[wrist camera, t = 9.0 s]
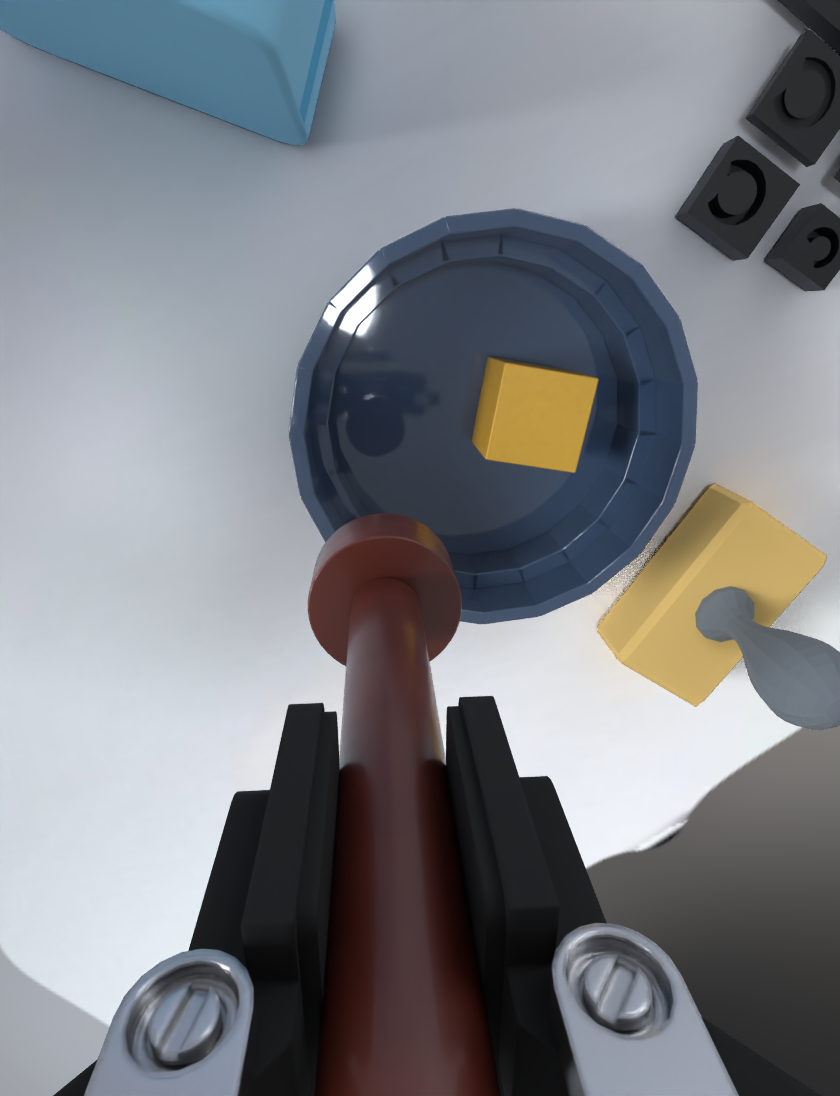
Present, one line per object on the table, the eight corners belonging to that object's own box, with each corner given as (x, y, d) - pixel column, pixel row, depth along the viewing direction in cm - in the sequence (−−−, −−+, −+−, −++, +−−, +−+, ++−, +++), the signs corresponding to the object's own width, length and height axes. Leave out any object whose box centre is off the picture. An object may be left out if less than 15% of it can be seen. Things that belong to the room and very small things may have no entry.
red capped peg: (290, 605, 18) (87, 1318, 5) (355, 487, 17) (302, 1014, 4) (410, 661, 19) (490, 1389, 6) (478, 552, 18) (748, 1154, 5)
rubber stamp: (669, 674, 37) (800, 832, 26) (592, 627, 35) (695, 774, 24) (787, 535, 34) (991, 643, 23) (710, 480, 33) (887, 565, 22)
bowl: (248, 482, 31) (222, 519, 26) (409, 153, 27) (420, 111, 21) (524, 619, 35) (553, 678, 29) (703, 349, 31) (778, 357, 25)
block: (470, 442, 30) (485, 459, 27) (487, 356, 29) (504, 362, 25) (550, 454, 31) (575, 473, 27) (570, 370, 30) (600, 378, 26)
